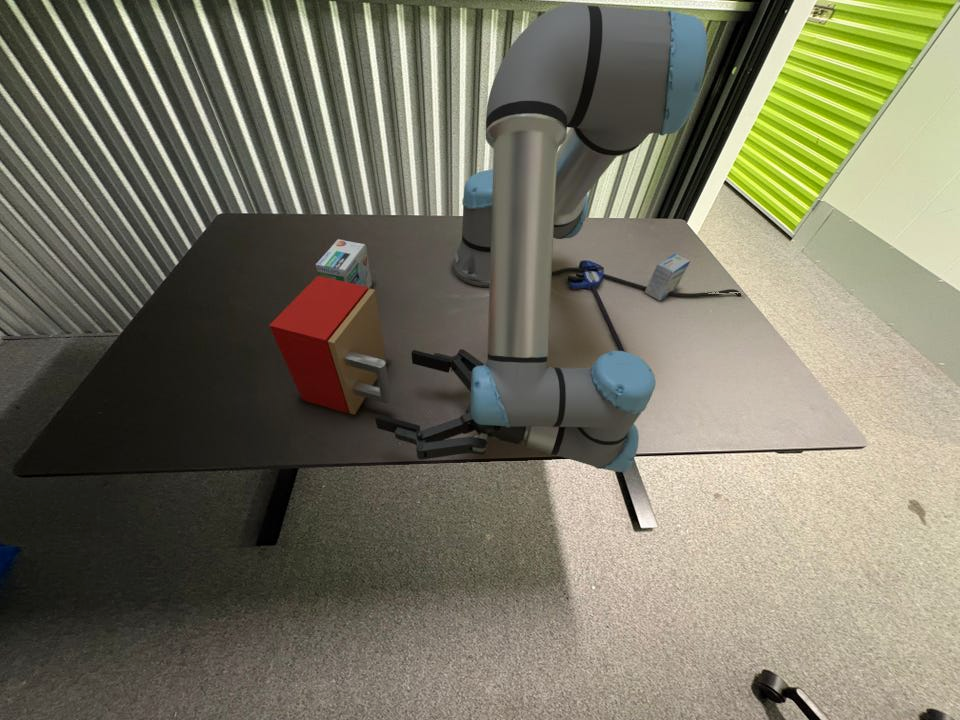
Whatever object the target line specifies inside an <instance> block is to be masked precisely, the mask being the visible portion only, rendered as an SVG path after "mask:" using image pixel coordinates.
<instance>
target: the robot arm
mask: <svg viewBox="0 0 960 720" xmlns="http://www.w3.org/2000/svg"><path fill="white" fill-rule="evenodd" d="M707 58H708V35H707V30H706V27H705V24H704V23H703V21H702V20H701V19H700V18H698V17H697V16H695V15H691V14H687V13H681V12H677V11H676V12H675V10H674V9H669V10H659V9H656V10H655V9H644V8H643V9H641V8H628V7H617V6H615V7H614V6H602V5H587V4H586V3H578V2H577V3H576V2H575V3H574V2H573V3H566V4H561V5H558V6H556V7H554V8H552V9H549V10H547V11H546V12H544V13H542V14H540V16H538V17H537V18H535V19H534V20H533V21H531V23H529V24H528V26H526V28H525V29H524V30H523V31H522V32H521V33H520V34H519V35H518V37H516V39H515V40H514V41H513V42H512V45H511V46H510V48H509V49H508V51H507V52H506V54H505V56H504V58H503V59H502V60H501V63H500V65H499V67H498V70H497V71H496V75H495V77H494V79H493V82H492V85H491V89H490V92H489V94H488V95H489V96H488V99H487V105H486V114H485V140H486V143H487V144H488V145H489V146H490V147H491V148H492V150H493V157H492V160H493V161H492V169H486V170H482V171H479V172H477V173H475V174H473V175H471V176H470V177H468V179H467V180H466V181H465V184H464V188H463V198H462V200H461V203H462V207H463V210H462V226H461V227H462V228H461V241H460V244H459V246H458V249H457V251H456V252H455V254H454V260H453V272H454V274H455V275H456V277H457V278H458V279H460V280H461V281H462V282H463V283H466V284H468V285H472V286H474V287H480V288H489V291H488V321H487V322H488V323H487V324H488V325H487V327H488V328H487V360H486V364H485V363H483V362H482V361H481V360H479V359H478V358H476V357H475V356H474V355H472V354H471V353H469V352H468V351H467V350H465V349H461V348H460V349H459V350H458V352H457V354H455V355H452V356H450V355H447V354H442V353H440V352H434V353H433V354H432V353H429V352H424V351H420V350H416V349H412V351H411V352H410V354H411V363H412V364H413V365H416V366H420V367H424V368H427V369H432V370H436V371H439V372H444V373H447V374H449V372H450V371H451V373H452V372H453V373H454V374H455V375H456V377H457V378H458V379H459V380H460V382H461V383H462V384H463V385H464V387H465V388H466V389H467V390H468V391H469V393H470V398H469V400H470V401H469V404H468V405H466V406H467V407H466V410H465V413H464V414H462V415H461V416H460V417H458V418H455V419H452V420H449V421H447V422H443V423H441V424H437V425H434V426H431V427H429V428H426V429H424V430H421V426H420V424H415V423H412V422H408V421H404V420H401V419H397V418H394V417H390V416H387V415H384V414H379V413H376V416H375V417H374V419H375V424H376V428H377V429H379V430H383V431H386V432H388V433H393V434H394V436H395V439H397V440H399V441H402V442H406V443H409V444H413V445H415V447H416V448H415V451H416V457H417V459H418V460H420V461H423V460H428V459H436V458H443V457H450V456H456V455H464V454H474V455H479V456H480V455H481V456H483V455H485V454H486V453H487V449H488V448H487V447H488V438H495V439H497V440H499V441H502V442H503V443H504V442H505V443H509V444H512V445H516V446H519V445H522V443H524V447H525V448H528V449H531V450H535V451H539V452H542V453H546V454H549V455H552V456H558V457H561V458H565V459H568V460H570V461H575V462H578V463H581V464H584V465H588V466H590V467H593V468H596V469H598V470H607V471H611V472H615V473H625V472H627V471H628V470H629V469H630V468H631V467H632V465H633V463H634V459H635V457H636V456H637V454H638V453H637V452H638V448H639V440H640V437H639V436H640V435H639V430H638V428H637V426H636V424H635V423H636V421H637V420H638V418H639V417H640V416H641V414H642V413H643V412H644V411H645V410H646V408H647V406H648V404H649V402H650V400H651V398H652V396H653V394H654V391H655V388H656V377H655V374H654V372H653V371H652V368H651V367H650V365H649V364H648V363H647V362H646V361H645V360H644V359H642V358H641V357H640V356H637V355H636V354H633V353H631V352H629V351H625V350H624V351H625V352H624V351H620V350H611V351H609V352H606V353H604V354H603V353H602V354H601V355H600V356H599V357H598V358H597V359H596V361H595V362H594V363H593V364H592V366H591V367H589V368H588V367H553V366H551V367H550V366H548V357H549V341H550V320H551V319H550V317H551V298H552V297H551V295H552V277H553V276H557V275H560V274H564V273H568V272H576V273H578V272H579V273H584V270H583V269H581V268H579V267H565V268H561V269H557V270H554V271H553V253H554V252H553V251H554V239H556V240H563V239H571V238H574V237H575V236H577V235H578V234H579V233H580V231H581V230H582V228H583V226H584V222H585V221H586V219H587V215H588V210H589V209H588V208H589V196H588V195H589V194H588V193H589V192H590V191H591V189H592V188H593V187H594V186H595V184H597V182H598V181H599V180H600V178H601V177H602V176H603V175H604V173H605V172H606V171H607V170H608V169H609V167H610V166H611V165H612V164H613V162H614V161H615V160H616V158H618V157H621V156H625V155H627V154H629V153H631V152H633V151H634V150H636V149H637V148H639V146H640V145H641V144H642V143H643V142H644V141H645V140H646V139H647V138H648V136H649V135H651V134H659V136H665V135H672V134H675V133H677V132H678V131H679V130H680V129H682V127H683V126H684V125H685V124H686V122H687V121H688V119H689V117H690V116H691V114H692V112H693V110H694V108H695V106H696V102H697V100H698V98H699V94H700V90H701V87H702V84H703V80H704V76H705V71H706V66H707ZM603 278H604V279H607V280H610V281H614V282H617V283H620V284H623V285H626V286H629V287H633V288H635V289H639V290H643V291H646V288H647V286H646V285H642V284H638V283H636V282H632V281H629V280H626V279H622V278H619V277H616V276H613V275H609V274H606V273H603V276H602V279H603ZM706 292H707V293H705V292H694V293H690V292H689V293H686V292H675V291H673V292H669V294H668V295H667V296H670V297H679V298H702V297H717V296H722V295H723V294H708V293H712V292H713V291H706ZM714 292H715V293H716V292H717V291H714ZM718 292H719V293H726V294H727V295H728V294H730V293H729V292H740V291H739V290H738V289H733V288H730V289H729V288H728V289H723V290H718ZM726 294H725V295H726ZM734 294H735V295H736V296H737V297H738V298H742V296H743V295H742V293H741V292H740V293H738V294H737V293H734ZM472 432H476V433H477V434H475V435H474V436H464V437H456V436H459V435H461V434H462V435H466V434H469V433H472ZM454 437H456V438H454Z"/></svg>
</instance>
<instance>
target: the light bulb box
mask: <svg viewBox="0 0 960 720" xmlns="http://www.w3.org/2000/svg"><path fill="white" fill-rule="evenodd" d="M315 267H316V271H317V274H318V275H317V276H322V277H327V278H331V279H335V280H339V281H343V282H348V283H352V284H356V285H360V286H364V287H368V290H369V289H371V287H372V286H373V282H372V277H371V269H370V263H369V257H368V251H367V245H366V244H365V243H359V242H354V241H349V240H345V239H339V238H338V239H336V241H335V242H334V243H333V244H332V245H331V246H330V248H329V249H328V250H327V251H326V252H325V254H323V255H322V257H321V258H320V259H319V260H318V261H317V262H316V263H315Z"/></svg>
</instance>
